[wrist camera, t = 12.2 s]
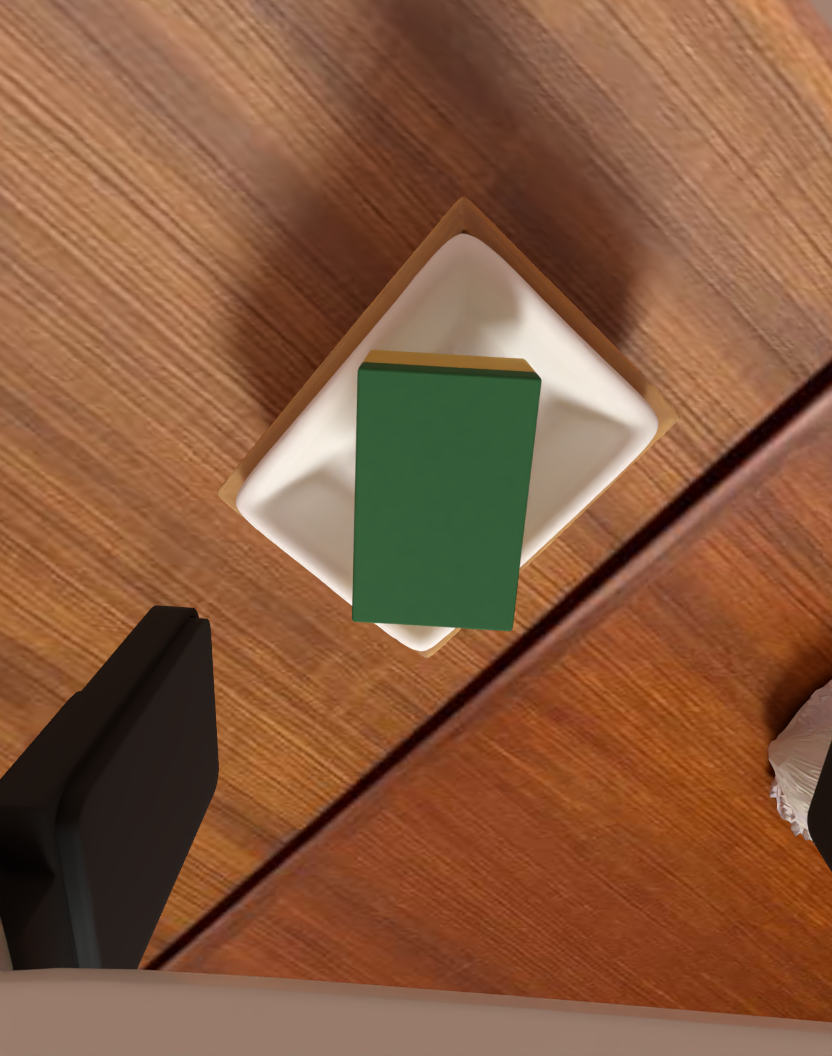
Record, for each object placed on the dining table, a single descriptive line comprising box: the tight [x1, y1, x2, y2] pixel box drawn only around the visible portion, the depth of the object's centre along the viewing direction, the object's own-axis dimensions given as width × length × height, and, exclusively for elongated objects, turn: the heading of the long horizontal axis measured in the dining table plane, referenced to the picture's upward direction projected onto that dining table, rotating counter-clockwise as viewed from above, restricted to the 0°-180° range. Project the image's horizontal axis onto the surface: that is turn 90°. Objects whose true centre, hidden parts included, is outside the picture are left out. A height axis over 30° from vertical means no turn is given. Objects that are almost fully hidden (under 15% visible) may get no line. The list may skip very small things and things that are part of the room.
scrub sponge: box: [352, 350, 542, 631], centre depth 20 cm, size 7×5×4 cm, turn 177°
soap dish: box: [217, 196, 680, 658], centre depth 24 cm, size 12×10×5 cm
